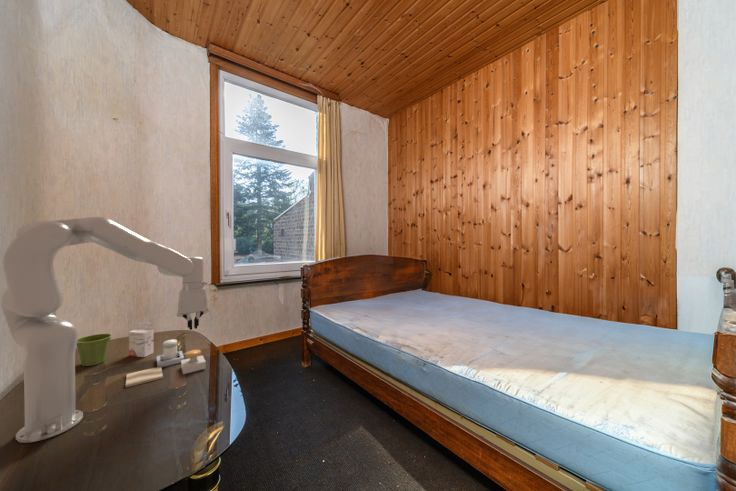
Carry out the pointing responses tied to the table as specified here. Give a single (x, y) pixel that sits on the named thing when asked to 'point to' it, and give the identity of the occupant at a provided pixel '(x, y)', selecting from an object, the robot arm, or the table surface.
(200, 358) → the white square base
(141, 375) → the wooden pad
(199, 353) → the orange mushroom button
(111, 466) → the table surface
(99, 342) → the plant pot
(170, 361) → the filter socket
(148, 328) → the ink cartridge box
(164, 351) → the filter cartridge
